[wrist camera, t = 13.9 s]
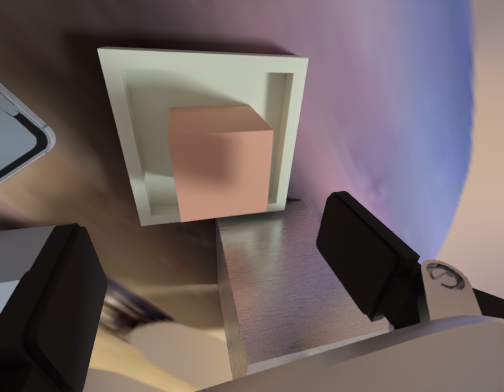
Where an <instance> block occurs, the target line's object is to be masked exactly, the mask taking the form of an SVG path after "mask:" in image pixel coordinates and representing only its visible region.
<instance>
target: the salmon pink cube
mask: <svg viewBox="0 0 504 392" xmlns="http://www.w3.org/2000/svg"><path fill="white" fill-rule="evenodd" d="M273 132H274V130H273V129H272V128H271V127H270V126H269V125H268V124H267V123H266V122H265V121H264V120H263V118H262V117H261V116H260V115H259V114H258V113H257V112H256V111H255V110H254V109H253V108H252V107H251V106H250V105H225V106H188V107H170V110H169V122H168V134H167V137H168V143H169V149H170V155H171V162H172V168H173V174H174V180H175V186H176V193H177V199H178V205H179V211H180V217H181V222H187V221H195V220H202V219H210V218H218V217H226V216H234V215H241V214H249V213H257V212H265V211H267V203H268V191H269V179H270V167H271V156H272V144H273Z"/></svg>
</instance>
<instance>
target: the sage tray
mask: <svg viewBox="0 0 504 392" xmlns="http://www.w3.org/2000/svg"><path fill="white" fill-rule="evenodd" d="M97 51H98V55H99V59H100V63H101V67H102V71H103V75H104V79H105V83H106V87H107V91H108V95H109V99H110V103H111V107H112V111H113V115H114V119H115V123H116V127H117V131H118V135H119V139H120V143H121V147H122V151H123V155H124V159H125V163H126V167H127V171H128V175H129V179H130V183H131V187H132V191H133V195H134V199H135V203H136V207H137V211H138V215H139V219H140V223H141V226H147V225H156V224H165V223H174V222H181V217H180V211H179V205H178V199H177V193H176V186H175V180H174V174H173V168H172V162H171V155H170V149H169V143H168V137H167V134H168V122H169V110H170V107H188V106H225V105H250V106H251V107H252V108H253V109H254V110H255V111H256V112H257V113H258V114H259V115H260V116H261V117H262V118H263V120H264V121H265V122H266V123H267V124H268V125H269V126H270V127H271V128H272V129H273V130H274V132H273V144H272V156H271V167H270V179H269V191H268V203H267V211H265V212H273V211H282V210H284V209H285V203H286V197H287V191H288V184H289V178H290V172H291V166H292V159H293V153H294V147H295V140H296V134H297V128H298V122H299V115H300V109H301V103H302V96H303V90H304V84H305V78H306V71H307V65H308V59H309V58H306V57H301V56H297V55H278V54H256V53H235V52H213V51H192V50H171V49H149V48H128V47H102V48H98V49H97ZM257 213H264V212H257ZM249 214H255V213H249ZM241 215H246V214H241ZM234 216H237V215H234ZM226 217H228V216H226ZM218 218H219V217H218Z"/></svg>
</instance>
